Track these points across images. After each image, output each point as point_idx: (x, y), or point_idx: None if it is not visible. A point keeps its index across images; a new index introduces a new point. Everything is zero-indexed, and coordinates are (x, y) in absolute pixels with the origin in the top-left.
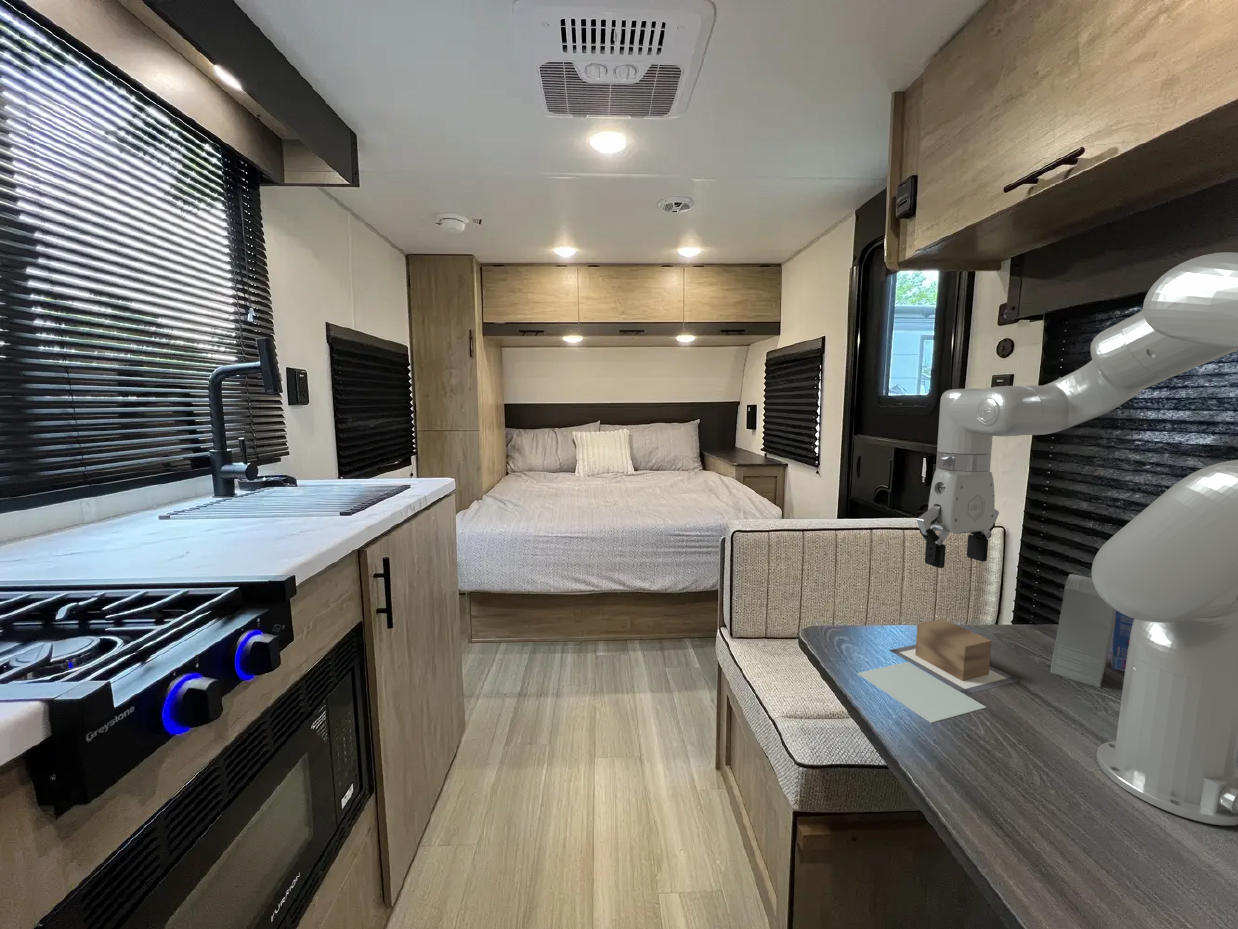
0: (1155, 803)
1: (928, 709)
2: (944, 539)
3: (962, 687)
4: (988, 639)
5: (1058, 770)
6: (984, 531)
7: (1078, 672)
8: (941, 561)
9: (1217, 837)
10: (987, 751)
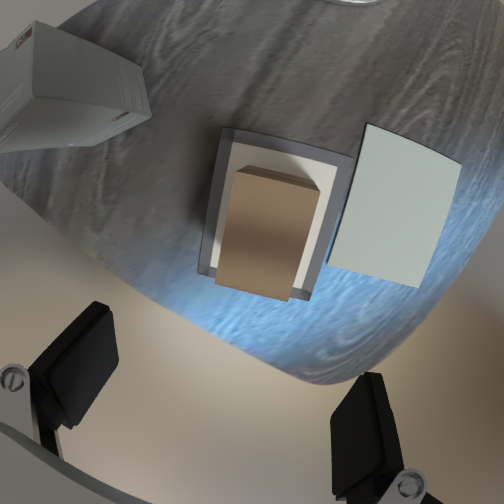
0: None
1: (439, 179)
2: (386, 497)
3: (335, 171)
4: (235, 178)
5: (422, 35)
6: (24, 417)
7: (139, 84)
8: (384, 396)
9: None
10: (457, 98)
